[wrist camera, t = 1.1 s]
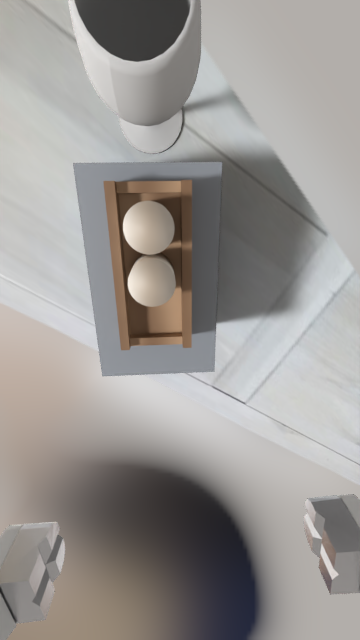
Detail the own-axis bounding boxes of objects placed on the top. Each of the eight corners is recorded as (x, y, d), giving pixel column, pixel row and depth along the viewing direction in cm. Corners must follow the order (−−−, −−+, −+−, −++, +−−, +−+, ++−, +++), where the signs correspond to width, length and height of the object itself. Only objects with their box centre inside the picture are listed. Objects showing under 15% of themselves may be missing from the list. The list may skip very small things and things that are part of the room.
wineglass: (195, 99, 32) (247, -66, 12) (166, 168, 34) (171, 120, 15) (132, 59, 30) (78, -202, 11) (107, 135, 33) (24, 32, 13)
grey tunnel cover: (103, 177, 34) (73, 163, 23) (202, 176, 35) (222, 161, 23) (119, 328, 42) (102, 376, 30) (200, 325, 42) (214, 371, 31)
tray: (188, 182, 24) (195, 177, 19) (189, 334, 29) (194, 360, 24) (109, 183, 23) (96, 178, 18) (124, 337, 29) (117, 364, 24)
